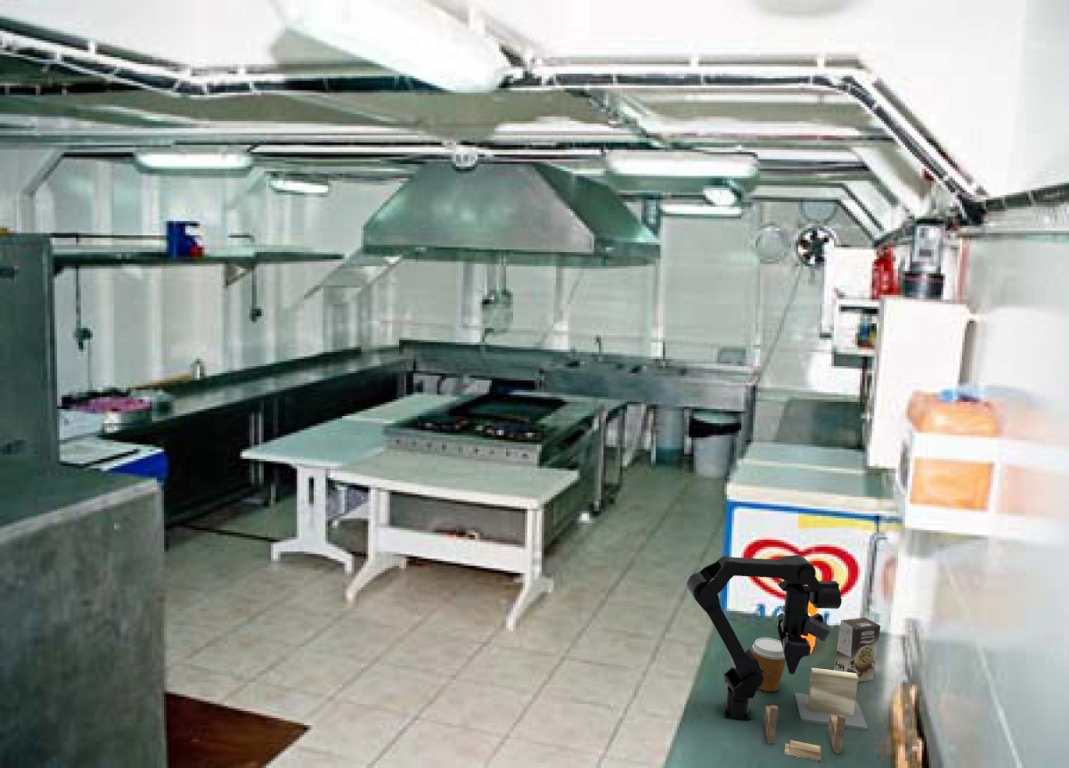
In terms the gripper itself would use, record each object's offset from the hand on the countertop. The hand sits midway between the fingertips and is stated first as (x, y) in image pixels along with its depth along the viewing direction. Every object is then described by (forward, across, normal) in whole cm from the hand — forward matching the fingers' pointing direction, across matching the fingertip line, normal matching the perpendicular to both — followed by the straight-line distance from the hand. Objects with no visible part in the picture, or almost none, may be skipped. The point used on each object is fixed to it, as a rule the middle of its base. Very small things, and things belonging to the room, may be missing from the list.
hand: (789, 665), depth 233 cm
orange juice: (+13, +44, -9) cm, 47 cm away
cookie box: (+13, +27, -22) cm, 37 cm away
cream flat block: (+12, +4, -12) cm, 18 cm away
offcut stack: (+13, -19, -2) cm, 23 cm away
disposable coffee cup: (+13, +14, +3) cm, 19 cm away
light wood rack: (+13, -11, -3) cm, 17 cm away
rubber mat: (+13, +4, -12) cm, 18 cm away
